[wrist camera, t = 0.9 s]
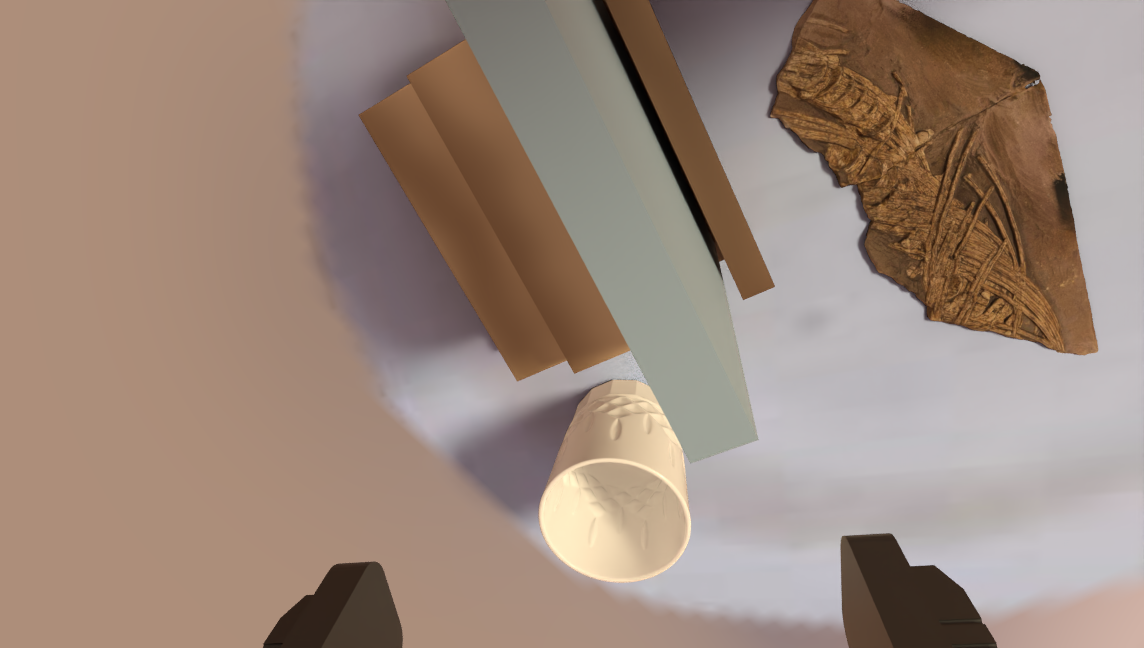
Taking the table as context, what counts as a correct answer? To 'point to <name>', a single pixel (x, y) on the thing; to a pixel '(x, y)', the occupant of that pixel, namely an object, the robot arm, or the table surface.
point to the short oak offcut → (461, 231)
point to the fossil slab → (943, 166)
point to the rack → (689, 142)
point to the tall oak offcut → (517, 206)
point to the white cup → (617, 488)
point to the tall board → (619, 203)
